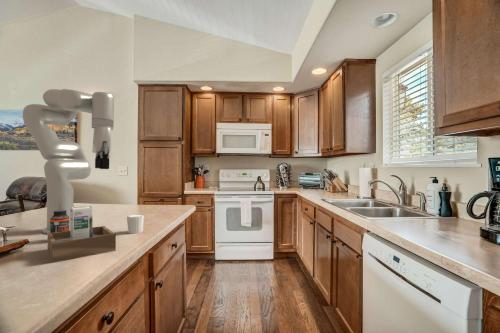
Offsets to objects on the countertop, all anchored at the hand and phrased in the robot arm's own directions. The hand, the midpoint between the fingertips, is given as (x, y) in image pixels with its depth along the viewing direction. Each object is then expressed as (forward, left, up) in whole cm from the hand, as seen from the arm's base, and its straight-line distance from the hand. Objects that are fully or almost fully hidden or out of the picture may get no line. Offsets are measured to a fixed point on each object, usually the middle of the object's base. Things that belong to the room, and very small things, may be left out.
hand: (101, 168), depth 103 cm
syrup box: (+11, -8, -28) cm, 31 cm away
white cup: (-2, +13, -28) cm, 31 cm away
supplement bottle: (-8, -13, -28) cm, 31 cm away
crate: (+12, -9, -27) cm, 31 cm away
